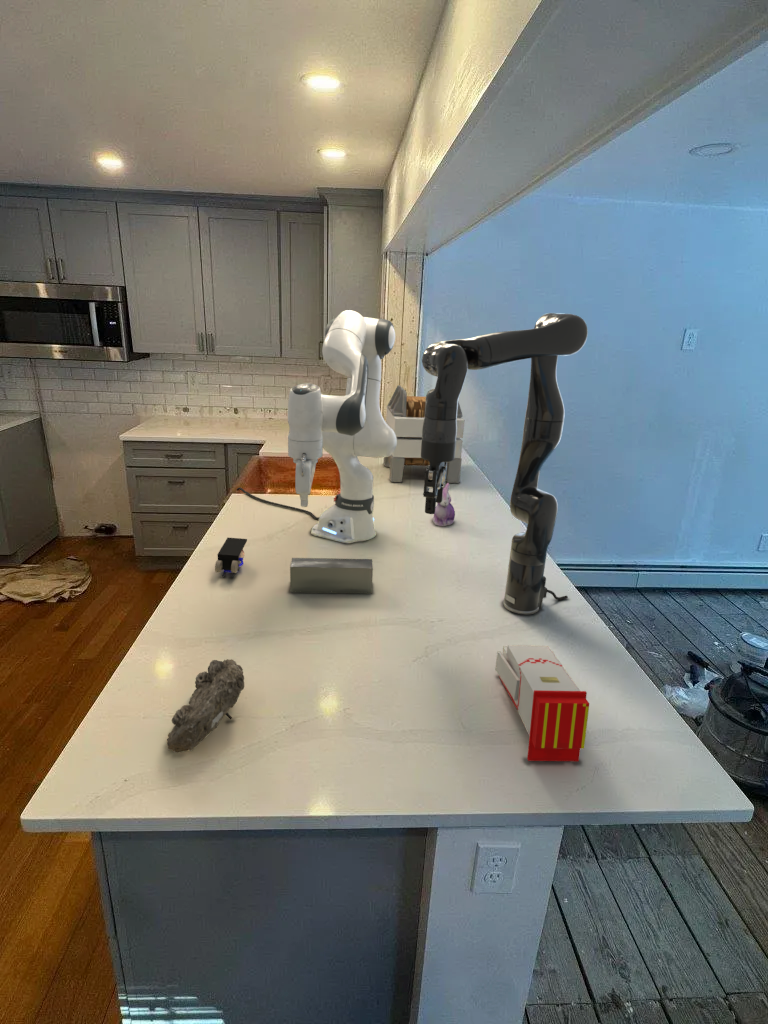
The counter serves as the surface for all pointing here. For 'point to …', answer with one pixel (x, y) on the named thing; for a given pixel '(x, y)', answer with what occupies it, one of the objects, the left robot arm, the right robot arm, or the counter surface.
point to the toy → (545, 701)
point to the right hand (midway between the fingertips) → (433, 507)
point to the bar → (331, 575)
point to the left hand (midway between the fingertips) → (305, 500)
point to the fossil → (206, 705)
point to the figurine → (444, 509)
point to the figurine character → (230, 556)
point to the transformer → (415, 436)
